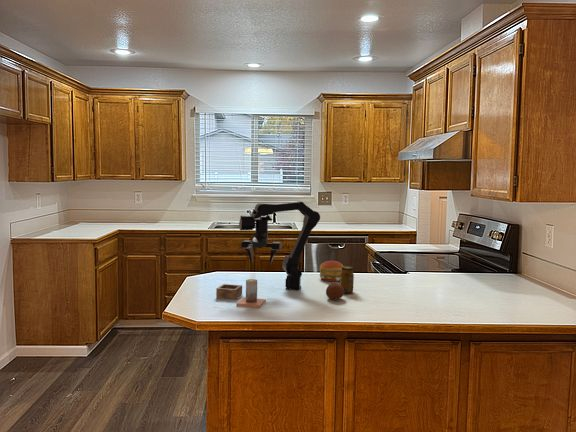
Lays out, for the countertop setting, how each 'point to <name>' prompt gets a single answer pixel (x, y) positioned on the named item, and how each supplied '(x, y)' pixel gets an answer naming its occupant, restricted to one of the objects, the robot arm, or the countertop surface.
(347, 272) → the condiment
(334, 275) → the burger
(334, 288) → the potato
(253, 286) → the silver and gold cylinder
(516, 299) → the countertop surface
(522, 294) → the countertop surface
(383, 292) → the countertop surface
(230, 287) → the socket block
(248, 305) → the terracotta tile
